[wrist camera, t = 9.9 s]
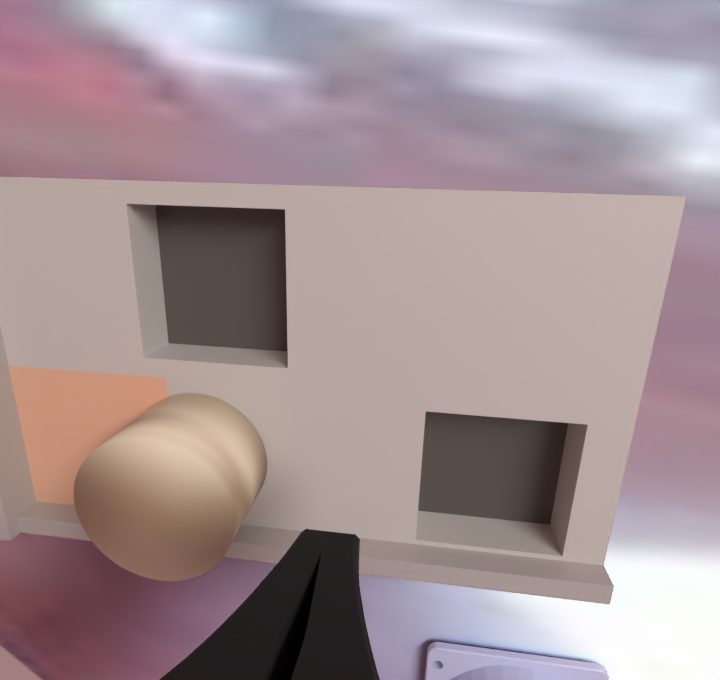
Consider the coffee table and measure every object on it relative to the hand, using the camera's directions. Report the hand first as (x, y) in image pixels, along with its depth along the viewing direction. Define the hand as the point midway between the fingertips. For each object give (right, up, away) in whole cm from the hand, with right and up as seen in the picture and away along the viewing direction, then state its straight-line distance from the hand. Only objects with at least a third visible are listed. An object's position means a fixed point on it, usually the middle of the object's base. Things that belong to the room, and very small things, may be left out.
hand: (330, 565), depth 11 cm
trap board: (-2, +4, +8) cm, 9 cm away
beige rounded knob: (-6, +1, +7) cm, 9 cm away
